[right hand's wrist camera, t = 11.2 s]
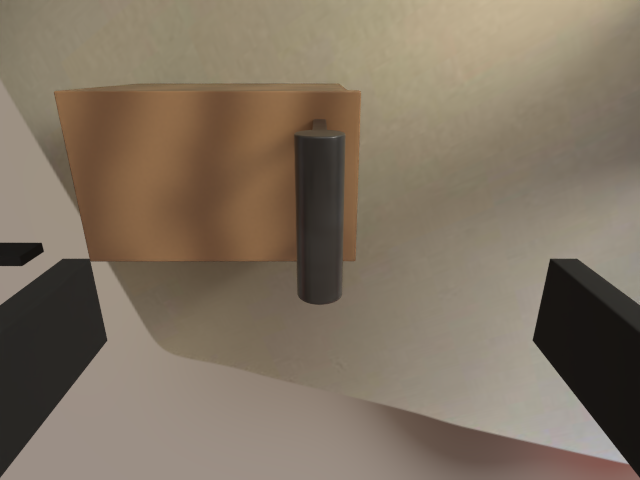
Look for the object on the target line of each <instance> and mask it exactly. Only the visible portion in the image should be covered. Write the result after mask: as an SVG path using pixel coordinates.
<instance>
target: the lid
mask: <svg viewBox="0 0 640 480" xmlns="http://www.w3.org/2000/svg"><path fill="white" fill-rule="evenodd" d="M54 95H55V99H56V104H57V109H58V113H59V118H60V123H61V127H62V132H63V136H64V141H65V146H66V150H67V155H68V160H69V164H70V169H71V174H72V178H73V183H74V188H75V192H76V197H77V202H78V206H79V211H80V216H81V220H82V225H83V229H84V234H85V239H86V243H87V248H88V253H89V257H90V261H297V293H298V296H299V298H300V299H301V300H303V301H304V302H307V303H310V304H318V305H321V304H329V303H333V302H335V301H337V300H338V299H339V298H340V297H341V296H342V274H343V261H355V258H356V227H357V197H358V167H359V137H360V106H361V91H359V90H62V91H54Z"/></svg>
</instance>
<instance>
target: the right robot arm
mask: <svg viewBox="0 0 640 480" xmlns="http://www.w3.org/2000/svg"><path fill="white" fill-rule="evenodd" d="M106 341H107V337H106V332H105V327H104V323H103V318H102V314H101V309H100V304H99V300H98V295H97V290H96V286H95V281H94V276H93V272H92V267H91V262H90V259H62V260H61V261H59V262H58V263H57V264H55V265H54V266H53V267H51V268H50V269H49V270H47V271H46V272H44V273H43V274H42V275H40V276H39V277H38V278H36V279H35V280H34V281H32V282H31V283H30V284H28V285H27V286H26V287H24V288H23V289H22V290H20V291H19V292H18V293H16V294H15V295H13V296H12V297H11V298H9V299H8V300H7V301H5V302H4V303H3V304H1V305H0V477H1V476H2V475H3V473H4V472H5V471H6V470H7V468H8V467H9V466H10V464H11V463H12V462H13V461H14V459H15V458H16V457H17V455H18V454H19V453H20V452H21V450H22V449H23V448H24V447H25V445H26V444H27V443H28V441H29V440H30V439H31V437H32V436H33V435H34V434H35V432H36V431H37V430H38V429H39V427H40V426H41V425H42V423H43V422H44V421H45V420H46V418H47V417H48V416H49V414H50V413H51V412H52V411H53V409H54V408H55V407H56V405H57V404H58V403H59V402H60V400H61V399H62V398H63V397H64V395H65V394H66V393H67V391H68V390H69V389H70V388H71V386H72V385H73V384H74V382H75V381H76V380H77V379H78V377H79V376H80V375H81V374H82V372H83V371H84V370H85V368H86V367H87V366H88V364H89V363H90V362H91V361H92V359H93V358H94V357H95V356H96V354H97V353H98V352H99V350H100V349H101V348H102V347H103V345H104V344H105V343H106ZM533 341H534V343H535V344H536V345H537V347H538V348H539V349H540V350H541V352H542V353H543V354H544V356H545V357H546V358H547V359H548V361H549V362H550V363H551V365H552V366H553V367H554V368H555V370H556V371H557V372H558V374H559V375H560V376H561V377H562V379H563V380H564V381H565V382H566V384H567V385H568V386H569V388H570V389H571V390H572V391H573V393H574V394H575V395H576V397H577V398H578V399H579V400H580V402H581V403H582V404H583V406H584V407H585V408H586V409H587V411H588V412H589V413H590V414H591V416H592V417H593V418H594V420H595V421H596V422H597V423H598V425H599V426H600V427H601V429H602V430H603V431H604V432H605V434H606V435H607V436H608V438H609V439H610V440H611V441H612V443H613V444H614V445H615V447H616V448H617V449H618V450H619V452H620V453H621V454H622V455H623V457H624V458H625V459H626V461H627V462H628V463H629V464H630V466H631V467H632V468H633V470H634V471H635V472H636V473H637V475H638V476H639V477H640V305H639V304H637V303H636V302H635V301H633V300H632V299H631V298H629V297H628V296H627V295H625V294H624V293H622V292H621V291H620V290H618V289H617V288H616V287H614V286H613V285H612V284H610V283H609V282H608V281H606V280H605V279H604V278H602V277H601V276H600V275H598V274H597V273H596V272H594V271H593V270H591V269H590V268H589V267H587V266H586V265H585V264H583V263H582V262H581V261H579V260H578V259H550V262H549V267H548V272H547V276H546V281H545V286H544V290H543V295H542V300H541V304H540V309H539V313H538V318H537V323H536V327H535V332H534V337H533Z"/></svg>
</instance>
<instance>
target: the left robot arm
mask: <svg viewBox="0 0 640 480" xmlns="http://www.w3.org/2000/svg"><path fill="white" fill-rule="evenodd" d="M42 252H44V250H43V246H42V243H0V266H23V265H24V264H26V263H27V262H29V261H30V260H32V259H33V258H35V257H36V256H38V255H39V254H41V253H42Z"/></svg>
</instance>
